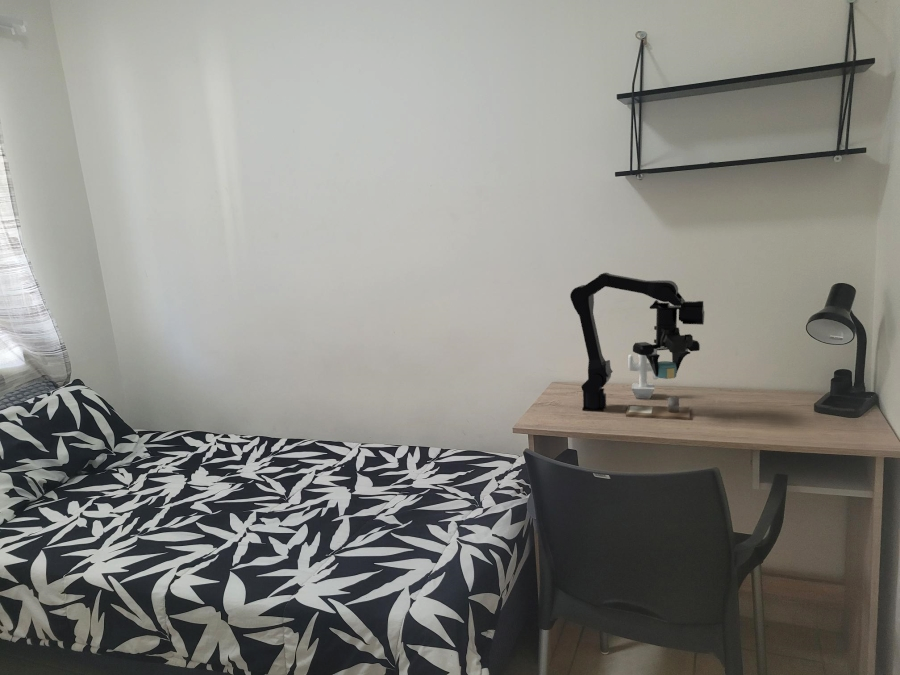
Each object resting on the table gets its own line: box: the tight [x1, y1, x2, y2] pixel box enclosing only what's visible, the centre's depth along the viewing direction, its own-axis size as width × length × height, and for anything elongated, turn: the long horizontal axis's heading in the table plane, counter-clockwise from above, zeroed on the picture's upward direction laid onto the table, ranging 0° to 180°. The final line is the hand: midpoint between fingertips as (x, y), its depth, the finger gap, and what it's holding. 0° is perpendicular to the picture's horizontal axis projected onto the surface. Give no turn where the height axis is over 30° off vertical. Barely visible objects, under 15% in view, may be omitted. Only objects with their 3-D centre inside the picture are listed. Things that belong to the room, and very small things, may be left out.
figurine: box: [627, 354, 659, 400], centre depth 206 cm, size 7×9×15 cm
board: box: [625, 396, 691, 421], centre depth 188 cm, size 18×10×5 cm, turn 69°
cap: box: [656, 360, 678, 380], centre depth 185 cm, size 6×6×4 cm
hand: (665, 374), depth 186 cm, fingers closed on cap, 6 cm apart
